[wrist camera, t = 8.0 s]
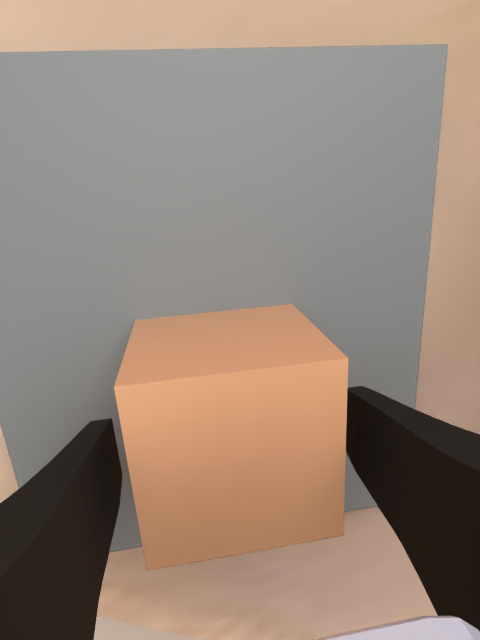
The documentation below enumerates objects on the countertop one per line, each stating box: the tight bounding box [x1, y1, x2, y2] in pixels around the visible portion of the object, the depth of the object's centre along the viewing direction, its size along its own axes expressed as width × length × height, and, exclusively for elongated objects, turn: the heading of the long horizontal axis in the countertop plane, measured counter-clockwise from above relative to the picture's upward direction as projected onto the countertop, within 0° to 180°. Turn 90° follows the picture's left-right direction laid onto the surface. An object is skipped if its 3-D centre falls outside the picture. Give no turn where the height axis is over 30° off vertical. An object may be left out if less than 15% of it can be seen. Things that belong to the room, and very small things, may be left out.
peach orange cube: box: [114, 304, 348, 571], centre depth 13 cm, size 6×6×5 cm
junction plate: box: [0, 44, 448, 552], centre depth 13 cm, size 16×18×5 cm
